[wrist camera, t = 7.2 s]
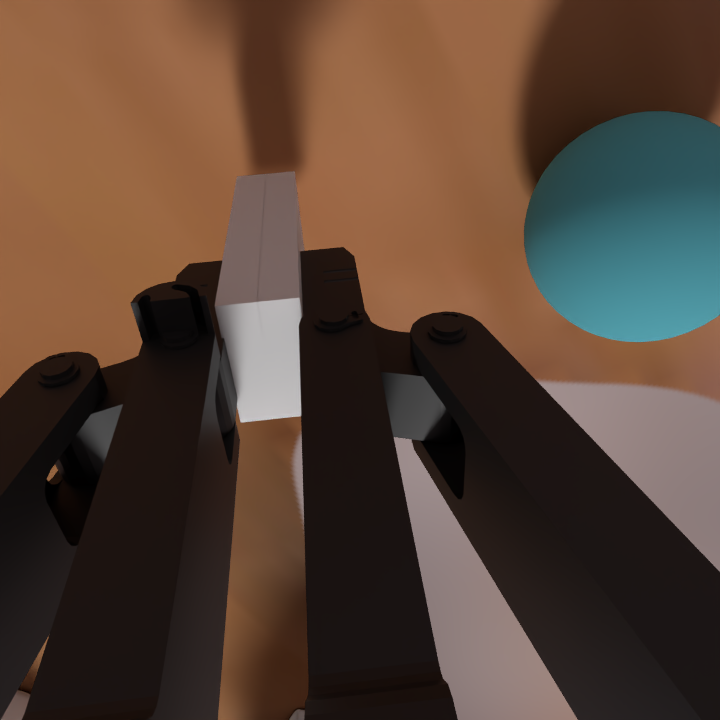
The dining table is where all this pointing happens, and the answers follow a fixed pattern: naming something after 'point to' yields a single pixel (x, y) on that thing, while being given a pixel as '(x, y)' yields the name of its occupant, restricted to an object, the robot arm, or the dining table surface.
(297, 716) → the supplement box
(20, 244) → the dining table surface
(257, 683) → the dining table surface
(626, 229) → the ball
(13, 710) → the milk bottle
